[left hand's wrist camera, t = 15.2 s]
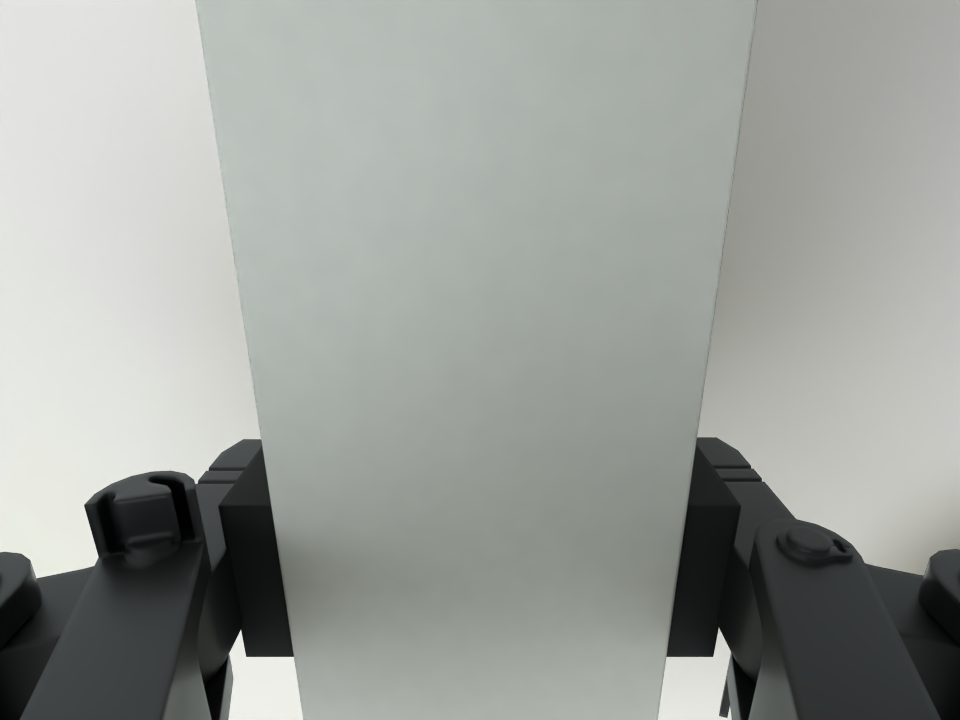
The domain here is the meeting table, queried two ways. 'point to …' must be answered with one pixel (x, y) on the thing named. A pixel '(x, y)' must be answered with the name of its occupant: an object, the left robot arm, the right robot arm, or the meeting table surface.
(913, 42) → the meeting table surface
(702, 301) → the bar
